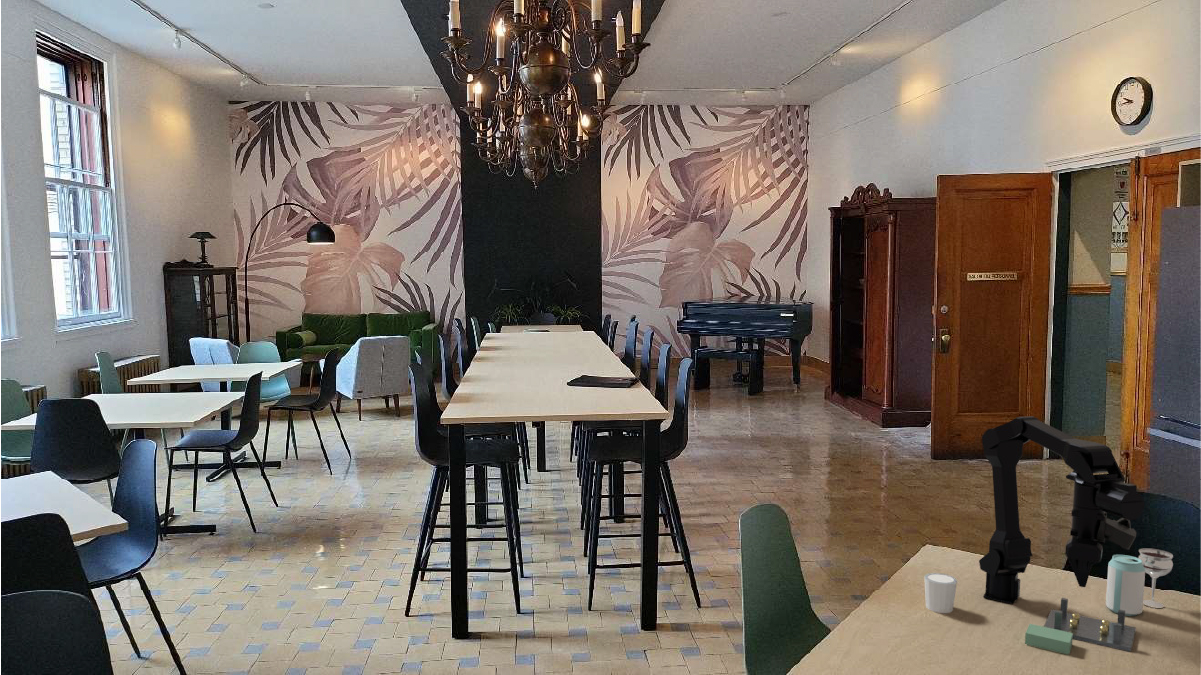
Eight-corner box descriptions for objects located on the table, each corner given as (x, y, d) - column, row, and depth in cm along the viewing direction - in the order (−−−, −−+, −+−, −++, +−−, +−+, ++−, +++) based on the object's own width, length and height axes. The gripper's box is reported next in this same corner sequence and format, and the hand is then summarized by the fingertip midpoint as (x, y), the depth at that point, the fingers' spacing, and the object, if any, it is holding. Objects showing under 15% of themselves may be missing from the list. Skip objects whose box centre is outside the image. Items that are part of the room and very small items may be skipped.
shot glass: (922, 611, 195) (923, 581, 194) (923, 600, 201) (924, 570, 201) (955, 616, 193) (957, 585, 192) (955, 604, 199) (957, 575, 198)
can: (1115, 602, 201) (1119, 551, 200) (1148, 612, 195) (1151, 560, 194) (1099, 608, 197) (1102, 556, 196) (1132, 619, 191) (1135, 566, 190)
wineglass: (1170, 612, 195) (1174, 560, 194) (1135, 606, 199) (1138, 554, 198) (1169, 602, 201) (1173, 551, 200) (1134, 596, 204) (1138, 546, 203)
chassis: (1042, 631, 185) (1043, 611, 184) (1051, 612, 195) (1052, 593, 194) (1130, 651, 176) (1132, 630, 175) (1135, 631, 186) (1136, 611, 185)
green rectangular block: (1024, 646, 179) (1025, 632, 179) (1028, 636, 183) (1029, 623, 183) (1068, 656, 174) (1069, 642, 174) (1072, 646, 179) (1072, 633, 179)
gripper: (1133, 524, 167) (1128, 603, 168) (1136, 501, 182) (1131, 573, 184) (1067, 514, 173) (1062, 591, 174) (1075, 492, 188) (1071, 563, 190)
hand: (1084, 579), depth 180 cm, fingers open, 9 cm apart
